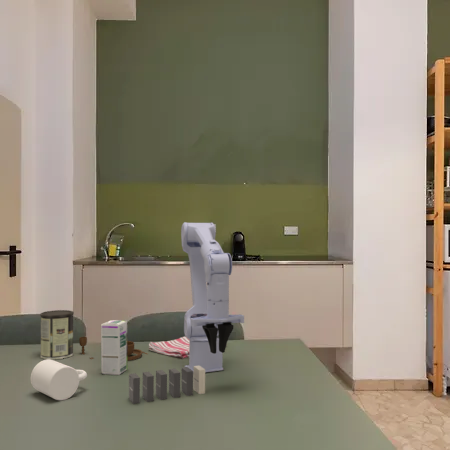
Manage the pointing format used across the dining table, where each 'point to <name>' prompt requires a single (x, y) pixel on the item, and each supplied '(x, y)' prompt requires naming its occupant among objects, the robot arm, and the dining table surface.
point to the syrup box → (114, 347)
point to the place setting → (129, 349)
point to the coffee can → (56, 334)
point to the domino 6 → (199, 379)
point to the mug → (56, 379)
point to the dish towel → (172, 347)
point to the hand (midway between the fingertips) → (217, 352)
